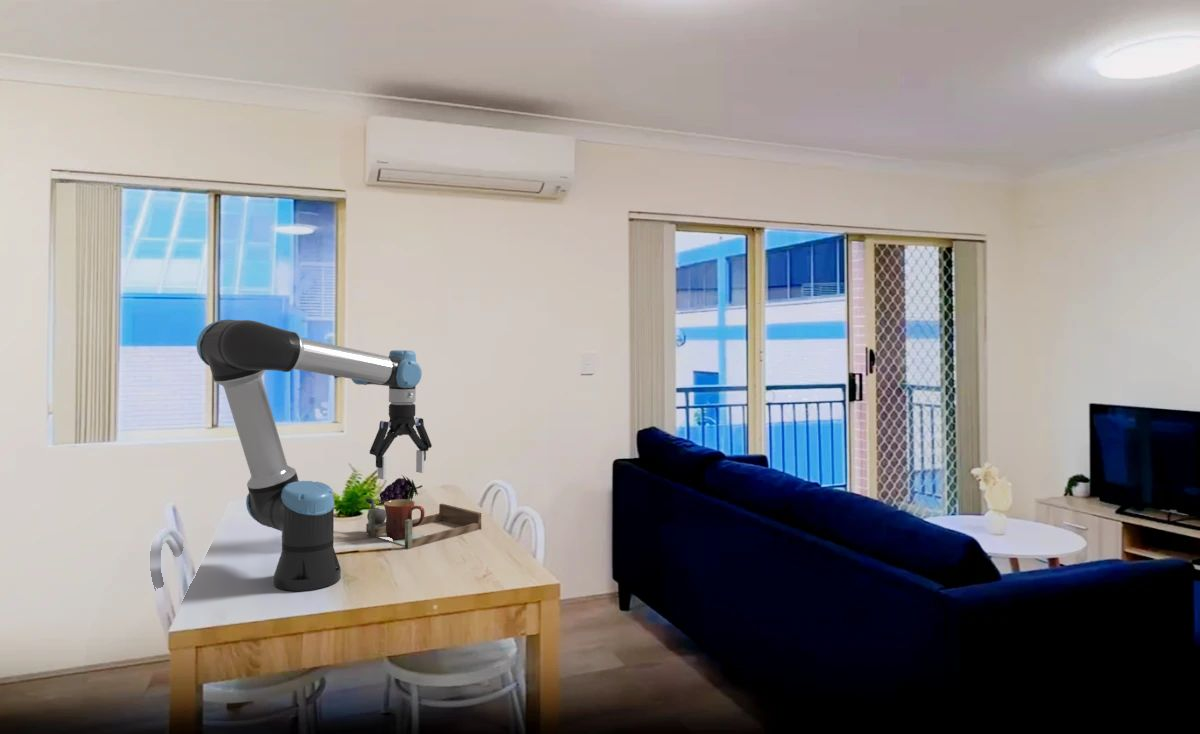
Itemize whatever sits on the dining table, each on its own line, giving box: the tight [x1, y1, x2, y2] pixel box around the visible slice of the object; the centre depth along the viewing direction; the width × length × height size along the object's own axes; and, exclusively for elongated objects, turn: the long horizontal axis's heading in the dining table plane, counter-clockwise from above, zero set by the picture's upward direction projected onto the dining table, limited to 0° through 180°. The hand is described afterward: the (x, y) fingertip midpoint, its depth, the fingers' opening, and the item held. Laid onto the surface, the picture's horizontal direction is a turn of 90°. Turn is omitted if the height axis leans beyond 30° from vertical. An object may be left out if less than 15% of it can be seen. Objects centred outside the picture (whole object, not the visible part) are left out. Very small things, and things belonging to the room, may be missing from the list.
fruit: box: [379, 474, 423, 502], centre depth 258 cm, size 10×11×15 cm
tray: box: [365, 497, 482, 550], centre depth 222 cm, size 28×25×10 cm
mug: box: [383, 499, 426, 540], centre depth 214 cm, size 12×9×10 cm
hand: (401, 475), depth 213 cm, fingers open, 13 cm apart
